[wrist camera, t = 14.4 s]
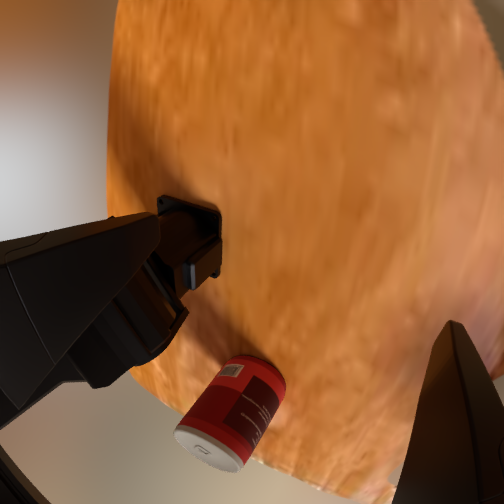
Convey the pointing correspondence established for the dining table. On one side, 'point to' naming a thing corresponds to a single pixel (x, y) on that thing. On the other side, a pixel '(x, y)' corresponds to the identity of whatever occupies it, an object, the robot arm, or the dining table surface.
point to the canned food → (232, 413)
